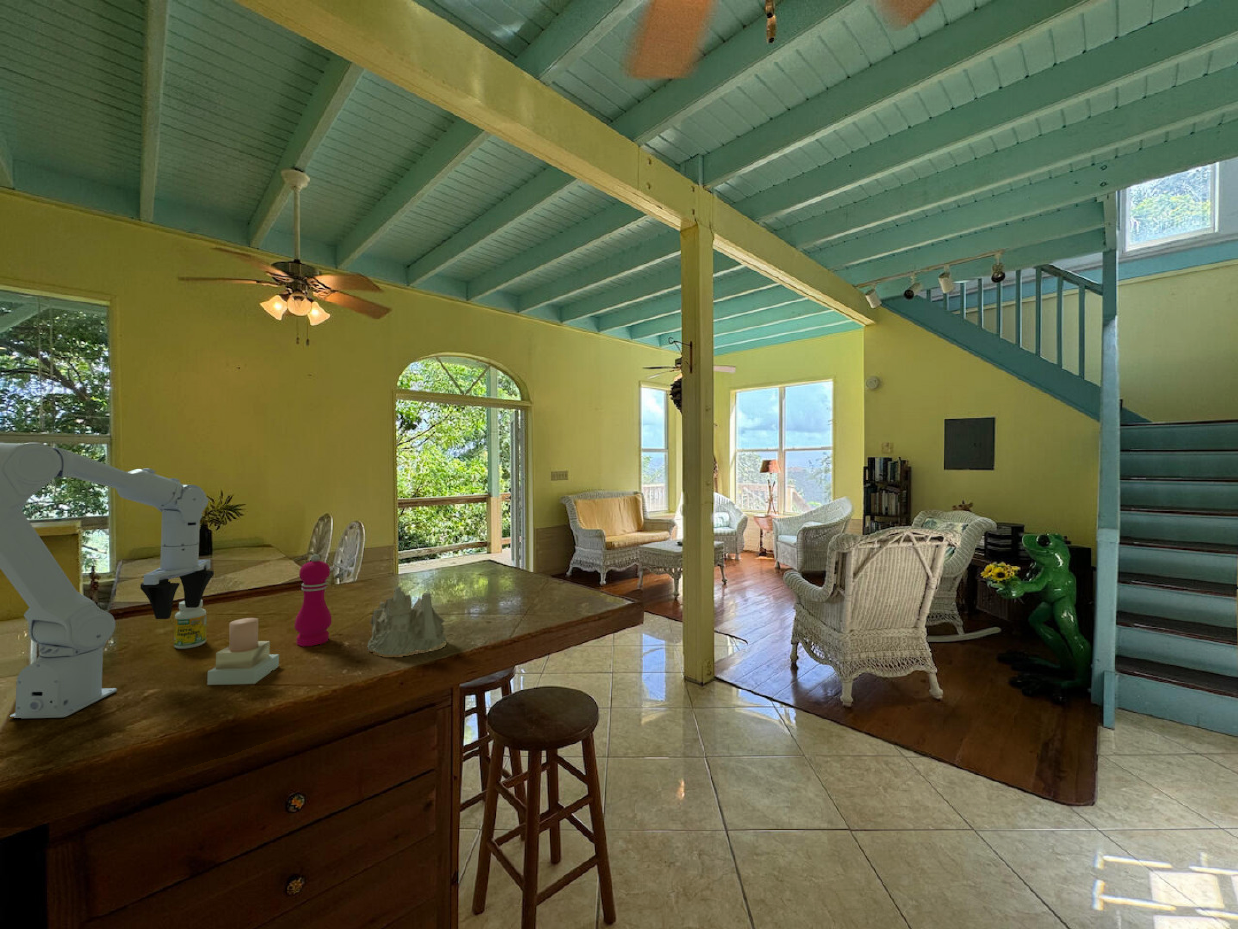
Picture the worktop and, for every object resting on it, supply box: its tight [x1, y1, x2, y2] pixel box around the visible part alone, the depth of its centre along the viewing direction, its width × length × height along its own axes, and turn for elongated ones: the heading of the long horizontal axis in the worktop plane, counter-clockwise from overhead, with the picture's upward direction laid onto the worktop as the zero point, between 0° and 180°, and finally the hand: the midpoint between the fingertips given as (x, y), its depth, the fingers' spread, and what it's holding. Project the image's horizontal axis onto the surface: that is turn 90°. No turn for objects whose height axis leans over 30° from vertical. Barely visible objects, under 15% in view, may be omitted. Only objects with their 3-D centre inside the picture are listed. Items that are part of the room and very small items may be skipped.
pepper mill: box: [294, 554, 332, 647], centre depth 114 cm, size 7×7×20 cm
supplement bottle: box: [173, 599, 207, 650], centre depth 110 cm, size 5×5×10 cm
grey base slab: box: [206, 653, 280, 686], centre depth 96 cm, size 8×8×3 cm
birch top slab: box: [215, 640, 271, 669], centre depth 96 cm, size 6×6×3 cm
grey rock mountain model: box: [367, 586, 447, 655], centre depth 114 cm, size 16×16×15 cm
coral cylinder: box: [228, 617, 259, 652], centre depth 95 cm, size 4×4×5 cm
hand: (178, 612), depth 99 cm, fingers open, 7 cm apart
